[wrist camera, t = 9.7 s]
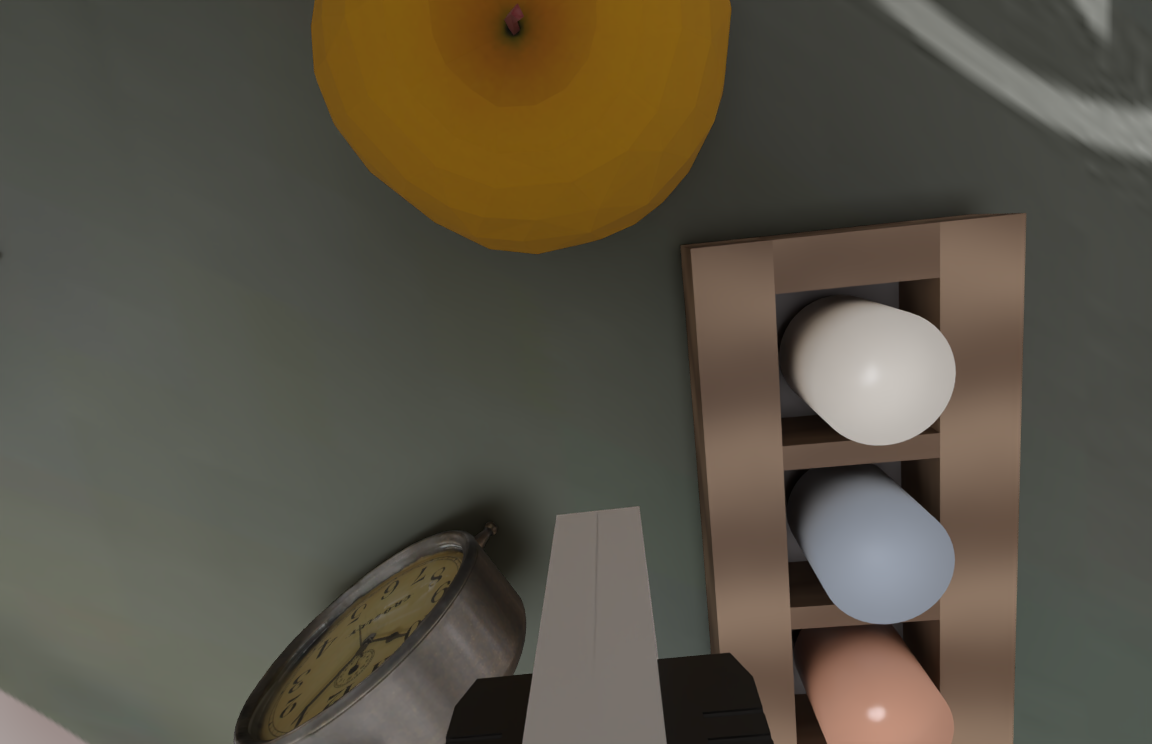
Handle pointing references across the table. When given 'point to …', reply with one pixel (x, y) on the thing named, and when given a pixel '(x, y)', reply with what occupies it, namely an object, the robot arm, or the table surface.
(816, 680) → the pink rounded cylinder
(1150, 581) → the table surface
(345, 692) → the alarm clock
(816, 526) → the blue-grey rounded piece
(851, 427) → the ivory key
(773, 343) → the key block
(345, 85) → the apple
